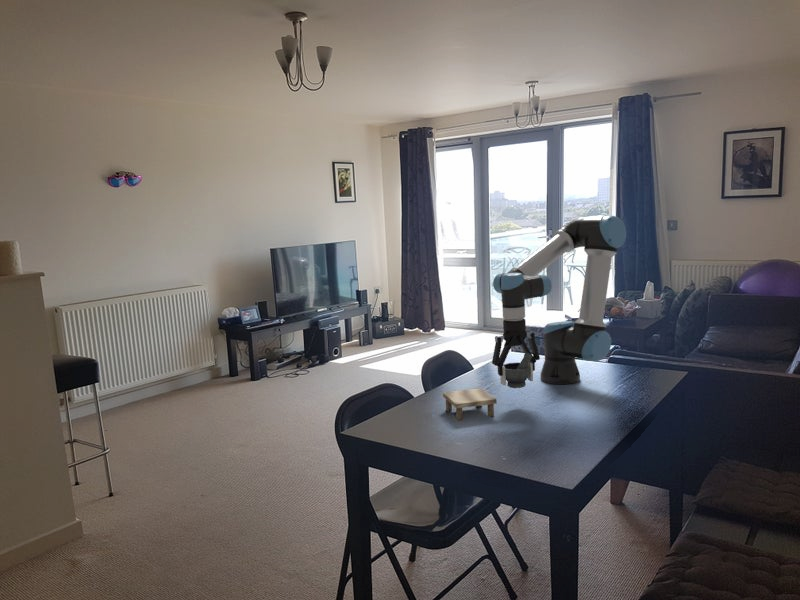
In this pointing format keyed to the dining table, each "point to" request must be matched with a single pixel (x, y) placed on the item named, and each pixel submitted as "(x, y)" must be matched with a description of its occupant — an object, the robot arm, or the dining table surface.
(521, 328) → the robot arm
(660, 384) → the dining table surface
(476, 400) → the oak footstool
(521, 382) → the mortar and pestle
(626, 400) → the dining table surface
